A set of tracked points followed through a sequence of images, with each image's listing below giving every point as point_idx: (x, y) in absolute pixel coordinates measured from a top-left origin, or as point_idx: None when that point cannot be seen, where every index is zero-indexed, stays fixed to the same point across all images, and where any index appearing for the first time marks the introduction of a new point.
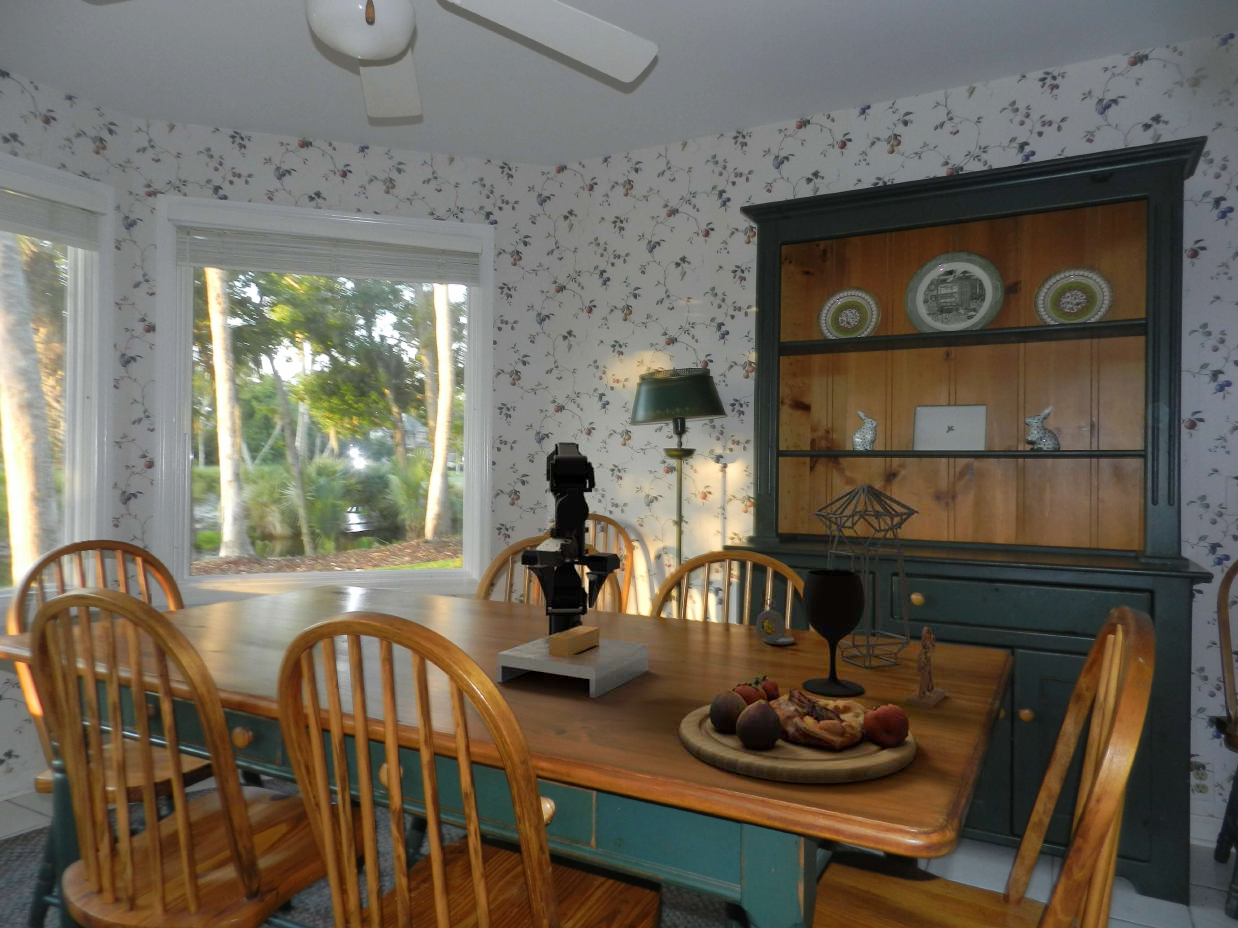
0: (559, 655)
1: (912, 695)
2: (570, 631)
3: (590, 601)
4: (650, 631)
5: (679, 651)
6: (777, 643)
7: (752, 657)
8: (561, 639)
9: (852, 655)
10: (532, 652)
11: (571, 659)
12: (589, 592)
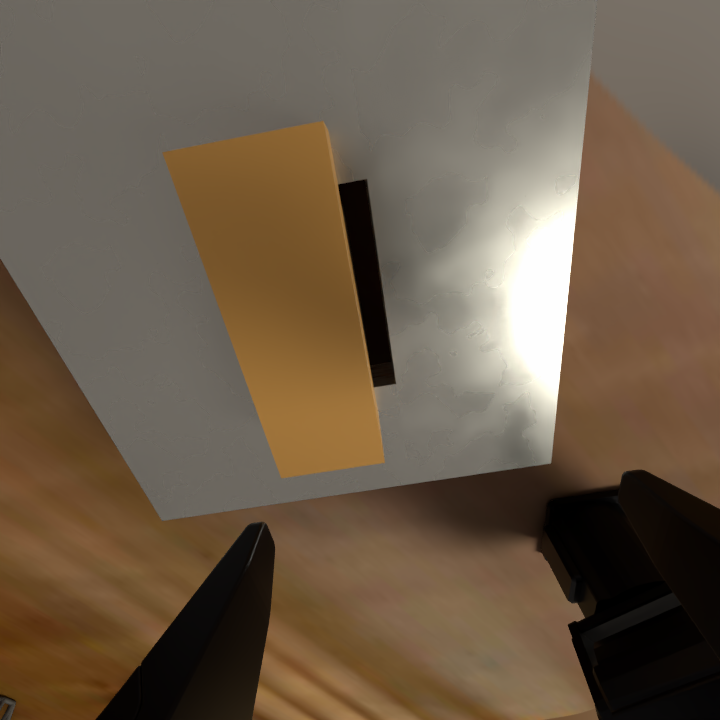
0: (249, 133)
1: None
2: (327, 335)
3: (222, 562)
4: (452, 666)
5: (282, 601)
6: None
7: (128, 639)
8: (219, 141)
9: (8, 715)
10: (419, 80)
11: (125, 100)
12: (192, 643)
